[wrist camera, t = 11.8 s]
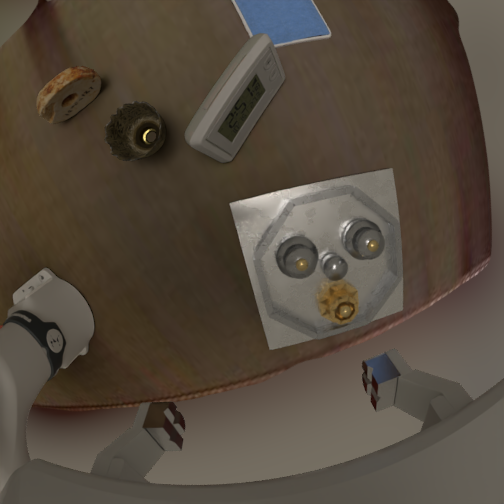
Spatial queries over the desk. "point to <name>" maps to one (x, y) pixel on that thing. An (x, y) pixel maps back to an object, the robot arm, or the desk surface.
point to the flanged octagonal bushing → (338, 301)
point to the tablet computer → (283, 20)
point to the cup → (135, 131)
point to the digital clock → (237, 100)
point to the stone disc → (68, 94)
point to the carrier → (322, 253)
